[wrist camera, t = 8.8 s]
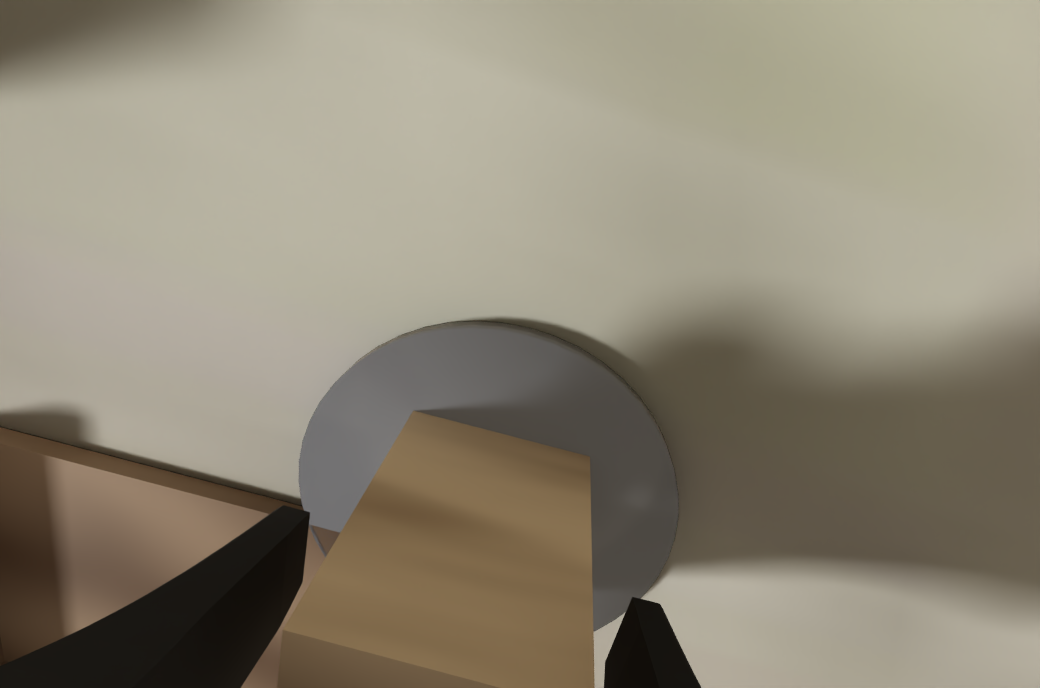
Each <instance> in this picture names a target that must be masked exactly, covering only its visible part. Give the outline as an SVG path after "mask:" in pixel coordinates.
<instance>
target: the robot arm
mask: <svg viewBox="0 0 1040 688" xmlns="http://www.w3.org/2000/svg"><path fill="white" fill-rule="evenodd" d="M309 519H310V512H308V511H304V510H300V509H296V508H292V507H288V506H285V505H283V506H281V507H279V508H277V509H276V510H275V511H273V512H272V513H270V514H269V515H267V516H266V517H265V518H263V519H262V520H260V521H259V522H258V523H256V524H255V525H253V526H252V527H250V528H249V529H248V530H246V531H245V532H243V533H242V534H240V535H239V536H238V537H236V538H235V539H233V540H232V541H230V542H229V543H227V544H226V545H224V546H223V547H221V548H220V549H218V550H217V551H215V552H214V553H212V554H211V555H209V556H208V557H206V558H205V559H203V560H202V561H200V562H199V563H197V564H196V565H194V566H192V567H191V568H189V569H188V570H186V571H185V572H183V573H181V574H180V575H178V576H176V577H175V578H173V579H171V580H170V581H168V582H166V583H165V584H163V585H161V586H160V587H158V588H156V589H155V590H153V591H151V592H150V593H148V594H146V595H144V596H143V597H141V598H139V599H137V600H136V601H134V602H132V603H130V604H128V605H127V606H125V607H123V608H121V609H119V610H117V611H116V612H114V613H112V614H110V615H108V616H106V617H104V618H102V619H100V620H98V621H96V622H94V623H92V624H90V625H89V626H87V627H85V628H83V629H80V630H78V631H76V632H74V633H72V634H70V635H68V636H66V637H64V638H61V639H59V640H57V641H55V642H53V643H51V644H49V645H46V646H44V647H42V648H40V649H37V650H35V651H33V652H31V653H29V654H26V655H24V656H22V657H20V658H18V659H15V660H13V661H11V662H8V663H6V664H4V665H1V666H0V688H241V686H242V685H243V683H244V682H245V680H246V679H247V677H248V676H249V674H250V673H251V671H252V670H253V668H254V667H255V665H256V663H257V662H258V660H259V659H260V657H261V656H262V654H263V653H264V651H265V650H266V648H267V647H268V645H269V643H270V642H271V640H272V639H273V637H274V636H275V634H276V633H277V631H278V629H279V628H280V626H281V624H282V622H283V620H284V618H285V616H286V614H287V612H288V611H289V609H290V607H291V605H292V603H293V601H294V599H295V597H296V595H297V593H298V591H299V589H300V587H301V585H302V583H303V574H304V565H305V556H306V547H307V538H308V529H309ZM604 688H701V686H700V684H699V682H698V680H697V679H696V677H695V675H694V673H693V671H692V669H691V667H690V665H689V663H688V661H687V659H686V656H685V654H684V652H683V650H682V648H681V646H680V644H679V642H678V640H677V638H676V636H675V634H674V632H673V629H672V627H671V625H670V623H669V621H668V619H667V617H666V615H665V613H664V610H663V608H662V607H661V605H660V604H658V603H655V602H651V601H647V600H643V599H639V598H635V597H632V599H631V601H630V603H629V606H628V608H627V611H626V613H625V616H624V618H623V620H622V623H621V625H620V628H619V630H618V633H617V635H616V637H615V640H614V642H613V645H612V647H611V649H610V652H609V654H608V657H607V659H606V662H605V679H604Z"/></svg>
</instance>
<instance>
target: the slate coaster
mask: <svg viewBox="0 0 1040 688" xmlns="http://www.w3.org/2000/svg"><path fill="white" fill-rule="evenodd" d="M413 411H417V412H421V413H424V414H428V415H432V416H436V417H440V418H444V419H447V420H451V421H455V422H459V423H463V424H467V425H470V426H474V427H478V428H482V429H486V430H490V431H494V432H497V433H501V434H505V435H509V436H513V437H517V438H520V439H524V440H528V441H532V442H536V443H540V444H543V445H547V446H551V447H555V448H559V449H563V450H566V451H570V452H574V453H578V454H582V455H586V456H589V457H590V482H591V535H592V587H593V632H594V631H596V630H598V629H600V628H601V627H603V626H605V625H607V624H608V623H610V622H612V621H614V620H615V619H617V618H618V617H619V616H621V615H622V614H623V613H624V612H626V611H627V608H628V606H629V603H630V601H631V599H632V597H635V598H639V599H640V598H641V597H642V596H643V595H644V594H645V593H646V592H647V591H648V589H649V588H650V587H651V585H652V584H653V583H654V581H655V580H656V579H657V577H658V576H659V574H660V572H661V570H662V568H663V567H664V565H665V563H666V561H667V559H668V557H669V554H670V551H671V548H672V545H673V542H674V539H675V534H676V528H677V522H678V489H677V483H676V477H675V472H674V468H673V464H672V460H671V457H670V454H669V451H668V448H667V445H666V442H665V439H664V436H663V434H662V432H661V430H660V429H659V427H658V425H657V423H656V421H655V419H654V417H653V415H652V414H651V412H650V411H649V410H648V408H647V407H646V405H645V404H644V402H643V401H642V400H641V398H640V397H639V396H638V395H637V394H636V393H635V391H634V390H633V389H632V388H631V387H630V386H629V385H628V384H627V383H626V382H625V381H624V380H623V379H622V378H621V377H620V376H619V375H618V374H616V373H615V372H614V371H613V370H612V369H610V368H609V367H608V366H607V365H606V364H604V363H603V362H602V361H600V360H598V359H597V358H595V357H594V356H592V355H591V354H589V353H587V352H586V351H584V350H583V349H581V348H579V347H577V346H575V345H573V344H571V343H568V342H566V341H564V340H562V339H560V338H558V337H556V336H553V335H549V334H546V333H543V332H540V331H537V330H534V329H531V328H527V327H522V326H516V325H511V324H506V323H498V322H483V321H467V322H451V323H444V324H439V325H434V326H429V327H423V328H420V329H417V330H414V331H411V332H408V333H405V334H402V335H400V336H398V337H396V338H394V339H392V340H390V341H388V342H386V343H383V344H381V345H379V346H378V347H376V348H375V349H373V350H372V351H370V352H369V353H368V354H366V355H365V356H363V357H362V358H360V359H359V360H358V361H357V362H356V363H355V364H354V365H353V366H352V367H351V368H349V369H348V370H347V371H346V372H345V373H344V374H343V375H342V376H341V377H340V378H339V379H338V380H337V381H336V382H335V383H334V384H333V386H332V387H331V388H330V390H329V391H328V392H327V394H326V395H325V396H324V397H323V399H322V400H321V401H320V403H319V405H318V406H317V408H316V410H315V412H314V414H313V416H312V418H311V419H310V421H309V424H308V427H307V430H306V433H305V436H304V439H303V442H302V448H301V453H300V459H299V487H300V494H301V502H302V505H303V509H304V511H308V512H310V519H309V525H310V526H309V527H310V529H311V528H312V529H311V532H313V533H314V534H313V533H312V534H313V536H314V539H315V541H316V542H317V544H319V545H318V546H319V548H320V549H321V551H322V553H323V554H324V556H325V558H326V556H327V554H325V551H323V550H324V549H323V548H322V547H323V546H322V547H321V545H322V544H323V542H321V543H322V544H321V543H319V542H320V539H319V541H318V538H317V537H318V536H316V535H317V534H316V532H315V531H313V530H314V528H313V527H312V526H311V525H313V526H315V527H316V526H317V527H318V528H319V527H321V528H325V530H326V529H328V530H332V531H334V532H335V531H336V532H337V536H338V533H339V532H340V533H341V531H342V529H343V528H344V526H345V524H346V523H347V521H348V519H349V518H350V516H351V514H352V513H353V511H354V509H355V508H356V506H357V504H358V503H359V501H360V499H361V497H362V496H363V494H364V492H365V491H366V489H367V487H368V486H369V484H370V482H371V481H372V479H373V477H374V476H375V474H376V472H377V471H378V469H379V467H380V466H381V464H382V462H383V461H384V459H385V457H386V456H387V454H388V452H389V451H390V449H391V447H392V445H393V444H394V442H395V440H396V439H397V437H398V435H399V434H400V432H401V430H402V429H403V427H404V425H405V424H406V422H407V420H408V419H409V417H410V415H411V414H412V412H413ZM321 528H320V529H321ZM323 530H324V529H323ZM328 530H327V531H328ZM317 531H319V530H317ZM321 531H322V530H321ZM324 532H325V531H324ZM328 532H329V531H328ZM329 533H330V532H329ZM329 533H328V534H329ZM325 534H326V533H325ZM331 534H332V533H331ZM334 534H335V533H334ZM335 535H336V534H335ZM335 535H333V536H335ZM320 536H321V535H320ZM328 536H329V535H328ZM337 536H336V537H337ZM329 537H330V536H329ZM336 537H335V538H336ZM326 538H327V537H326ZM331 538H332V537H331ZM325 541H326V540H325ZM333 541H334V540H333ZM332 543H333V542H332ZM331 545H332V544H331ZM329 546H330V545H329ZM328 548H329V547H328ZM326 549H327V547H326ZM326 553H327V552H326Z"/></svg>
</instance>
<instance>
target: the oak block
mask: <svg viewBox="0 0 1040 688" xmlns="http://www.w3.org/2000/svg"><path fill="white" fill-rule="evenodd" d="M277 688H594V640H593V587H592V535H591V482H590V457H589V456H586V455H582V454H578V453H574V452H570V451H566V450H563V449H559V448H555V447H551V446H547V445H543V444H540V443H536V442H532V441H528V440H524V439H520V438H517V437H513V436H509V435H505V434H501V433H497V432H494V431H490V430H486V429H482V428H478V427H474V426H470V425H467V424H463V423H459V422H455V421H451V420H447V419H444V418H440V417H436V416H432V415H428V414H424V413H421V412H417V411H413V412H412V414H411V415H410V417H409V419H408V420H407V422H406V424H405V425H404V427H403V429H402V430H401V432H400V434H399V435H398V437H397V439H396V440H395V442H394V444H393V445H392V447H391V449H390V451H389V452H388V454H387V456H386V457H385V459H384V461H383V462H382V464H381V466H380V467H379V469H378V471H377V472H376V474H375V476H374V477H373V479H372V481H371V482H370V484H369V486H368V487H367V489H366V491H365V492H364V494H363V496H362V497H361V499H360V501H359V503H358V504H357V506H356V508H355V509H354V511H353V513H352V514H351V516H350V518H349V519H348V521H347V523H346V524H345V526H344V528H343V529H342V531H341V533H340V534H339V536H338V538H337V539H336V541H335V543H334V544H333V546H332V548H331V549H330V551H329V553H328V555H327V556H326V558H325V560H324V561H323V563H322V565H321V566H320V568H319V570H318V571H317V573H316V575H315V576H314V578H313V580H312V581H311V583H310V585H309V586H308V588H307V590H306V591H305V593H304V595H303V596H302V598H301V600H300V601H299V603H298V605H297V607H296V608H295V610H294V612H293V613H292V615H291V617H290V618H289V620H288V622H287V623H286V625H285V627H284V628H283V632H282V642H281V652H280V663H279V673H278V683H277Z"/></svg>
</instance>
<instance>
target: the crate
mask: <svg viewBox="0 0 1040 688" xmlns="http://www.w3.org/2000/svg"><path fill="white" fill-rule="evenodd" d="M283 505H285V506H288V507H292V508H296V509H300V510H304V509H303V506H299V505H295V504H291V503H288V502H284V501H280V500H276V499H272V498H268V497H265V496H261V495H257V494H253V493H249V492H246V491H242V490H238V489H234V488H230V487H227V486H223V485H219V484H215V483H211V482H207V481H204V480H200V479H196V478H192V477H188V476H185V475H181V474H177V473H173V472H169V471H166V470H162V469H158V468H154V467H150V466H146V465H143V464H139V463H135V462H131V461H127V460H124V459H120V458H116V457H112V456H108V455H105V454H101V453H97V452H93V451H89V450H85V449H82V448H78V447H74V446H70V445H66V444H63V443H59V442H55V441H51V440H47V439H43V438H40V437H36V436H32V435H28V434H24V433H21V432H17V431H13V430H9V429H5V428H2V427H0V666H1V665H4V664H6V663H8V662H11V661H13V660H15V659H18V658H20V657H22V656H24V655H26V654H29V653H31V652H33V651H35V650H37V649H40V648H42V647H44V646H46V645H49V644H51V643H53V642H55V641H57V640H59V639H61V638H64V637H66V636H68V635H70V634H72V633H74V632H76V631H78V630H80V629H83V628H85V627H87V626H89V625H90V624H92V623H94V622H96V621H98V620H100V619H102V618H104V617H106V616H108V615H110V614H112V613H114V612H116V611H117V610H119V609H121V608H123V607H125V606H127V605H128V604H130V603H132V602H134V601H136V600H137V599H139V598H141V597H143V596H144V595H146V594H148V593H150V592H151V591H153V590H155V589H156V588H158V587H160V586H161V585H163V584H165V583H166V582H168V581H170V580H171V579H173V578H175V577H176V576H178V575H180V574H181V573H183V572H185V571H186V570H188V569H189V568H191V567H192V566H194V565H196V564H197V563H199V562H200V561H202V560H203V559H205V558H206V557H208V556H209V555H211V554H212V553H214V552H215V551H217V550H218V549H220V548H221V547H223V546H224V545H226V544H227V543H229V542H230V541H232V540H233V539H235V538H236V537H238V536H239V535H240V534H242V533H243V532H245V531H246V530H248V529H249V528H250V527H252V526H253V525H255V524H256V523H258V522H259V521H260V520H262V519H263V518H265V517H266V516H267V515H269V514H270V513H272V512H273V511H275V510H276V509H277V508H279V507H281V506H283ZM309 526H310V525H309ZM311 526H312V527H313V528H314V530H313V531H315V532H316V534H317V535H316V536H318V537H317V538H318V541H319V539H320V542H319V543H321V542H323V544H322V543H321V544H322V545H321V547H322V546H323V547H322V548H323V549H324V550H323V551H325V554H327V555H328V553H329V551H330V549H331V548H332V546H333V544H334V543H335V541H336V539H337V538H338V536H339V534H340V532H339V533H338V536H337V532H336V531H335V532H334V531H332V530H328V529H326V530H325V528H321V527H319V528H318V527H317V526H316V527H315V526H313V525H311ZM320 528H321V529H320ZM311 529H312V528H311ZM311 529H310V527H309V529H308V538H307V547H306V556H305V565H304V574H303V583H302V585H301V587H300V589H299V591H298V593H297V595H296V597H295V599H294V601H293V603H292V605H291V607H290V609H289V611H288V612H287V614H286V616H285V618H284V620H283V622H282V624H281V626H280V628H279V629H278V631H277V633H276V634H275V636H274V637H273V639H272V640H271V642H270V643H269V645H268V647H267V648H266V650H265V651H264V653H263V654H262V656H261V657H260V659H259V660H258V662H257V663H256V665H255V667H254V668H253V670H252V671H251V673H250V674H249V676H248V677H247V679H246V680H245V682H244V683H243V685H242V686H241V688H277V683H278V673H279V663H280V652H281V642H282V632H283V628H284V627H285V625H286V623H287V622H288V620H289V618H290V617H291V615H292V613H293V612H294V610H295V608H296V607H297V605H298V603H299V601H300V600H301V598H302V596H303V595H304V593H305V591H306V590H307V588H308V586H309V585H310V583H311V581H312V580H313V578H314V576H315V575H316V573H317V571H318V570H319V568H320V566H321V565H322V563H323V561H324V560H325V556H324V554H323V553H322V551H321V549H320V548H319V546H318V545H319V544H317V542H316V541H315V539H314V536H313V534H314V533H313V532H311ZM323 529H324V530H323ZM317 530H319V531H317ZM321 530H322V531H321ZM327 530H328V531H329V532H330V533H329V532H328V531H327ZM324 531H325V532H324ZM312 533H313V534H312ZM325 533H326V534H325ZM328 533H329V534H328ZM331 533H332V534H331ZM334 533H335V534H336V535H335V534H334ZM320 535H321V536H320ZM328 535H329V536H330V537H329V536H328ZM333 535H335V536H333ZM336 536H337V537H336ZM326 537H327V538H326ZM331 537H332V538H331ZM335 537H336V538H335ZM325 540H326V541H325ZM333 540H334V541H333ZM332 542H333V543H332ZM331 544H332V545H331ZM329 545H330V546H329ZM326 547H327V549H326ZM328 547H329V548H328ZM326 552H327V553H326Z"/></svg>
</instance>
